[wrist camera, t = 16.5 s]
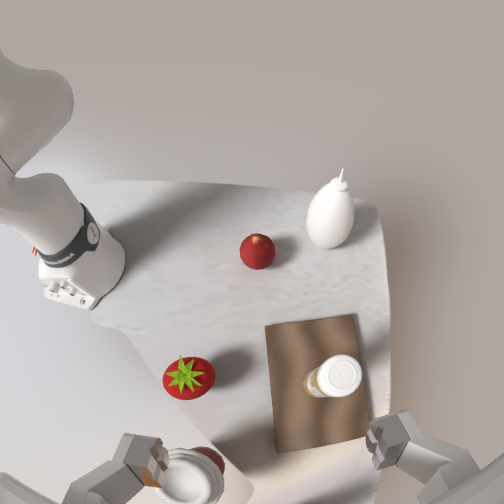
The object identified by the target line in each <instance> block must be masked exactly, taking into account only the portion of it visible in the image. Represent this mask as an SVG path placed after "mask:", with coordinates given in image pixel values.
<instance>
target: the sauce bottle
mask: <svg viewBox="0 0 504 504" xmlns="http://www.w3.org/2000/svg"><path fill="white" fill-rule="evenodd" d="M343 173H344V169H342V171H341V174H340V177H336V178H333V179H332V180H331V182H330V183H328V184H326V185H325V186H323V187H322V188H321V189H320V190H319V191H318V192H317V194H316V195H315V196H314V198H313V200H312V202H311V203H310V206H309V209H308V212H307V218H306V226H307V231H308V235H309V237H310V239H311V241H312V242H313V243H314V244H315V245H316V246H317V247H319V248H322V249H331V248H334V247H336V246H338V245H340V244H341V243H343V242H344V241H345V239H346V238H347V237H348V235H349V234H350V231H351V229H352V226H353V222H354V203H353V198H352V195H351V192H350V190H349V188H348V183H347V181H346V180H345V179H343Z"/></svg>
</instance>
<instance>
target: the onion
mask: <svg viewBox="0 0 504 504" xmlns="http://www.w3.org/2000/svg"><path fill="white" fill-rule="evenodd" d="M275 254H276V253H275V246H274V244H273V242H272V241H271V239H270V238H269V237H267V236H265V235H262V234H257V233H256V234H252V235H250V236H248V237H247V238H246V239H245V240H244V241H243V242H242V244H241V247H240V257H241V259H242V261H243V262H244V264H245V265H247V266H248V267H249V268H252V269H256V270H257V269H264V268H266V267H268V266H269V265H270V264H271V263H272V262H273V259H274V257H275Z"/></svg>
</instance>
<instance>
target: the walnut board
mask: <svg viewBox="0 0 504 504" xmlns="http://www.w3.org/2000/svg"><path fill="white" fill-rule="evenodd" d="M265 333H266V343H267V354H268V364H269V374H270V385H271V395H272V406H273V417H274V427H275V438H276V449H277V453H280V452H289V451H296V450H303V449H309V448H315V447H321V446H326V445H331V444H336V443H340V442H345V441H349V440H353V439H357V438H361V437H364V436H366V433H367V431H368V430H369V429H370V426H369V417H368V408H367V400H366V392H365V385H364V378H363V372H362V379H361V383H360V385H359V386H358V388H357V389H356V390H355V391H354V392H353V393H351V394H349V395H347V396H343V397H320V398H315V397H312V396H310V395H308V393H307V392H306V391H305V389H304V384H303V383H304V379H305V376H306V375H307V374H308V373H309V372H310V371H311V370H313V369H316V368H317V367H319V366H321V365H322V364H323V363H324V362H325V361H326V360H328V359H329V358H331V357H333V356H335V355H340V354H344V355H349V356H351V357H353V358H354V359H356V360H357V361H358V363H359V364H360V366H361V360H360V354H359V348H358V343H357V337H356V332H355V327H354V322H353V317H352V315H347V316H340V317H334V318H327V319H320V320H312V321H304V322H296V323H288V324H279V325H269V326H265ZM361 369H362V366H361Z"/></svg>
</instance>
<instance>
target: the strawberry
mask: <svg viewBox="0 0 504 504" xmlns="http://www.w3.org/2000/svg"><path fill="white" fill-rule="evenodd" d="M214 379H215V371H214V368H213V367H212V365H211V364H210V363H209V362H208V361H206V360H204V359H202V358H197V357H187V358H182V357H181V355H180V359H179V360H177V361H175V362H174V363H172V364H171V365H170V366H169V367H168V368H167V369H166V371H165V373H164V375H163V385H164V388H165V390H166V391H167V392H168V393H169V394H170V395H171V396H173V397H175V398H177V399H181V400H191V399H195V398H198V397H200V396H202V395H204V394H205V393H206V392H207V391H208V390H209V389H210V388H211V386H212V385H213V383H214Z"/></svg>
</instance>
